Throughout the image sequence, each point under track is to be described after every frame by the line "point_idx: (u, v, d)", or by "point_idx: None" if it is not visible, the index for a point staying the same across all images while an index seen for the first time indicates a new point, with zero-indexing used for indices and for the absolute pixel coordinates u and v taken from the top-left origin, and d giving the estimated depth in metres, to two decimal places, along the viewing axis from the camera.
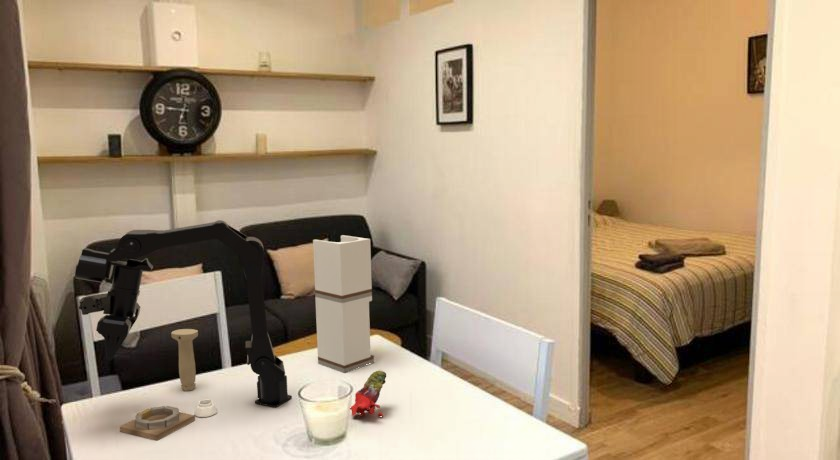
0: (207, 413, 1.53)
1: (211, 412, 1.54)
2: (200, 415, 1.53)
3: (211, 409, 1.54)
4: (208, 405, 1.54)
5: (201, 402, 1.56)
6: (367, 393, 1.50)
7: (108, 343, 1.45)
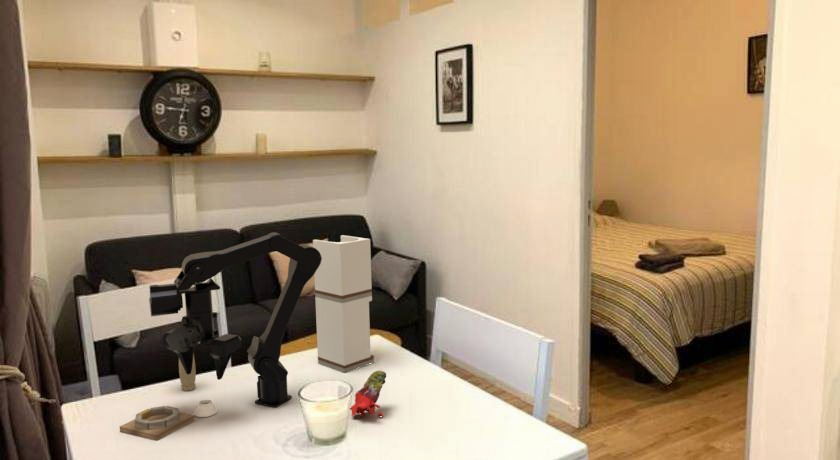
0: (207, 413, 1.53)
1: (211, 412, 1.54)
2: (200, 415, 1.53)
3: (211, 409, 1.54)
4: (208, 405, 1.54)
5: (201, 402, 1.56)
6: (367, 393, 1.50)
7: (221, 363, 1.51)
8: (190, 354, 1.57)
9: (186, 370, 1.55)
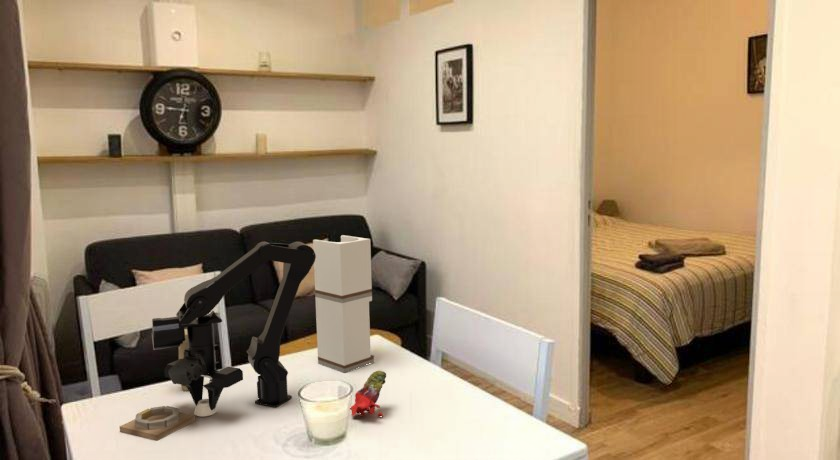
0: (207, 412, 1.53)
1: (211, 411, 1.54)
2: (200, 414, 1.53)
3: None
4: (208, 404, 1.54)
5: (201, 401, 1.56)
6: (367, 393, 1.50)
7: (213, 394, 1.53)
8: (200, 387, 1.57)
9: (196, 403, 1.55)
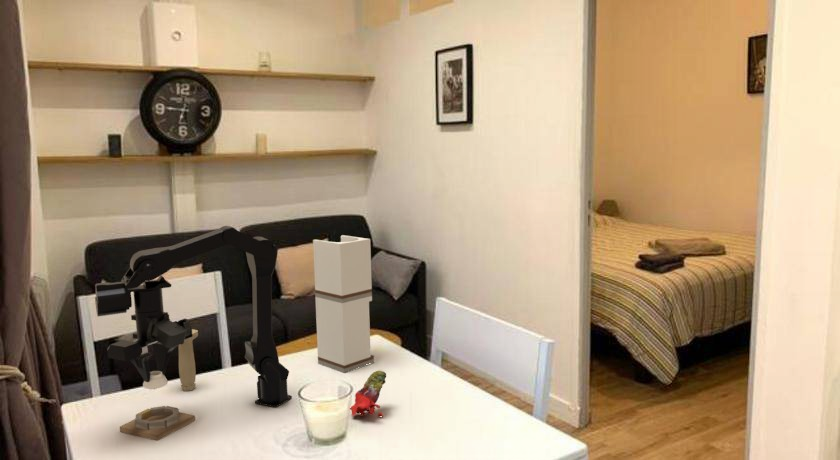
0: (166, 379, 1.49)
1: None
2: (165, 383, 1.47)
3: None
4: None
5: None
6: (367, 393, 1.50)
7: None
8: None
9: (149, 377, 1.45)
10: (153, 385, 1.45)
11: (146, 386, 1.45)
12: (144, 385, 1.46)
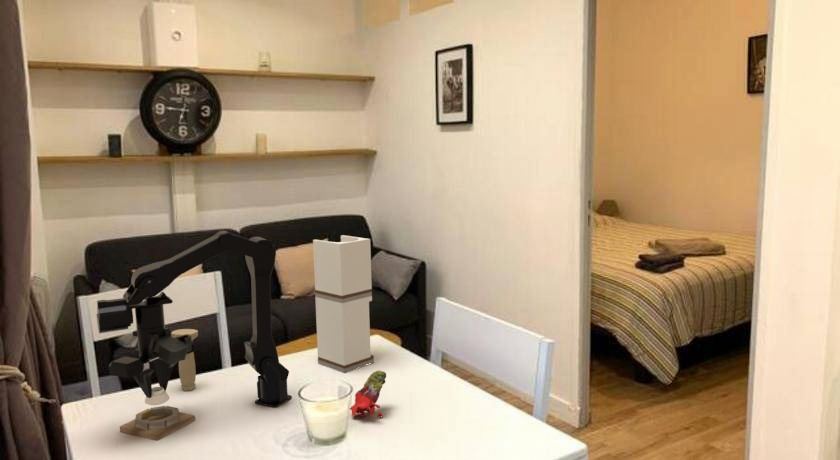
0: (168, 395, 1.49)
1: None
2: (167, 399, 1.48)
3: None
4: None
5: None
6: (367, 393, 1.50)
7: None
8: None
9: (150, 393, 1.46)
10: (155, 401, 1.46)
11: (148, 402, 1.46)
12: (146, 401, 1.46)
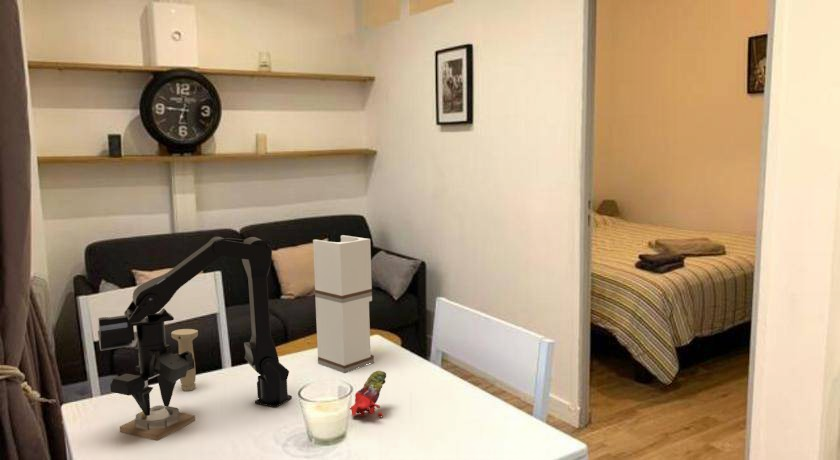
0: (169, 414, 1.50)
1: None
2: None
3: None
4: None
5: None
6: (367, 393, 1.50)
7: None
8: None
9: (149, 411, 1.46)
10: None
11: None
12: None
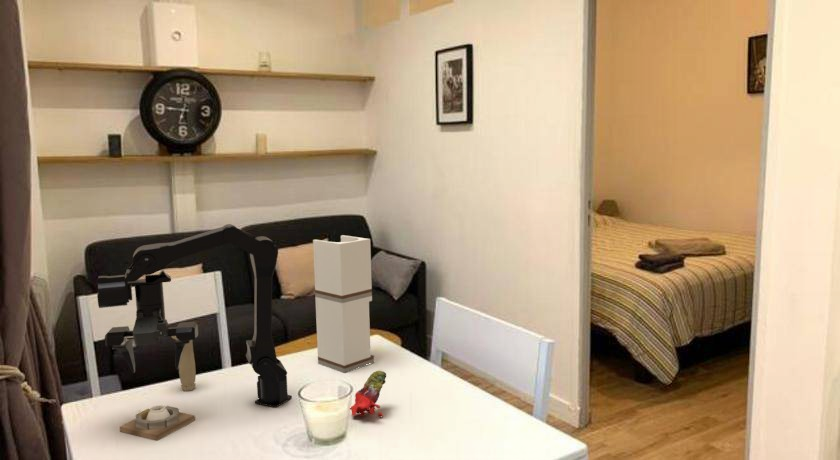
0: (169, 414, 1.50)
1: None
2: None
3: None
4: None
5: None
6: (367, 393, 1.50)
7: None
8: (131, 352, 1.50)
9: (132, 368, 1.49)
10: None
11: None
12: None
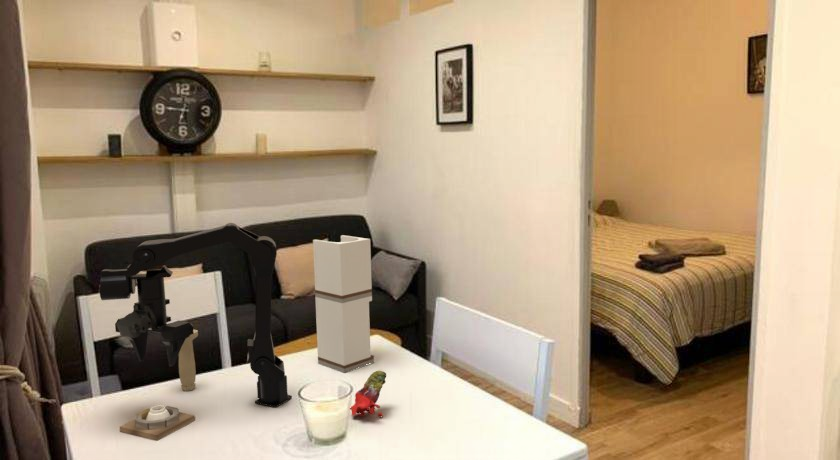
0: (169, 414, 1.50)
1: None
2: None
3: None
4: None
5: None
6: (367, 393, 1.50)
7: (172, 350, 1.51)
8: (143, 341, 1.57)
9: (139, 357, 1.56)
10: None
11: None
12: None
